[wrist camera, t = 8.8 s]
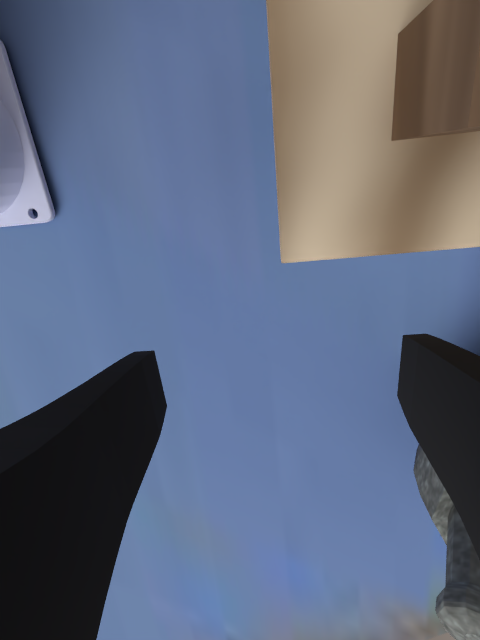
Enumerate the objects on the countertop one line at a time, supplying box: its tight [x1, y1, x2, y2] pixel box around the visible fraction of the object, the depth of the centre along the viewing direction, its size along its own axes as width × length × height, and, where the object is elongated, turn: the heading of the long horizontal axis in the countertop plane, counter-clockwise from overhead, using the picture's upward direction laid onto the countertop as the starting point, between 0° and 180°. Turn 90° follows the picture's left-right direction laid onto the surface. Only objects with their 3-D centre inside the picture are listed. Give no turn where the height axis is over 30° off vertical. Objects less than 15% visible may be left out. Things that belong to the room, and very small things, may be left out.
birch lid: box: [266, 0, 480, 263], centre depth 9 cm, size 11×11×6 cm
